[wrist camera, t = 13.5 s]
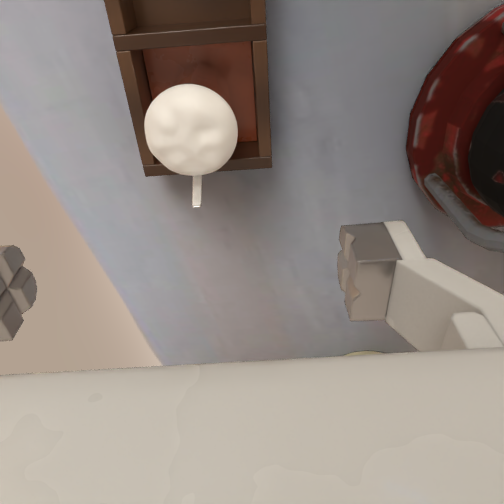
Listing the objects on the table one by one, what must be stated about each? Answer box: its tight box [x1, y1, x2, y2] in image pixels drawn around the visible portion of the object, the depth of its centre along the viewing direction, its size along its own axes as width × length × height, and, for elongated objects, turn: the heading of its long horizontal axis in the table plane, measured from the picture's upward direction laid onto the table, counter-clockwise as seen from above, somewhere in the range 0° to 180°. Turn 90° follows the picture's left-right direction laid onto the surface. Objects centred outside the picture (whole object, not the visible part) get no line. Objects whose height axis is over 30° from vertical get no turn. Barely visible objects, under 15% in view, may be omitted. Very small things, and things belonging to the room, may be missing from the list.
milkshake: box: [144, 63, 238, 207], centre depth 23 cm, size 4×5×10 cm
